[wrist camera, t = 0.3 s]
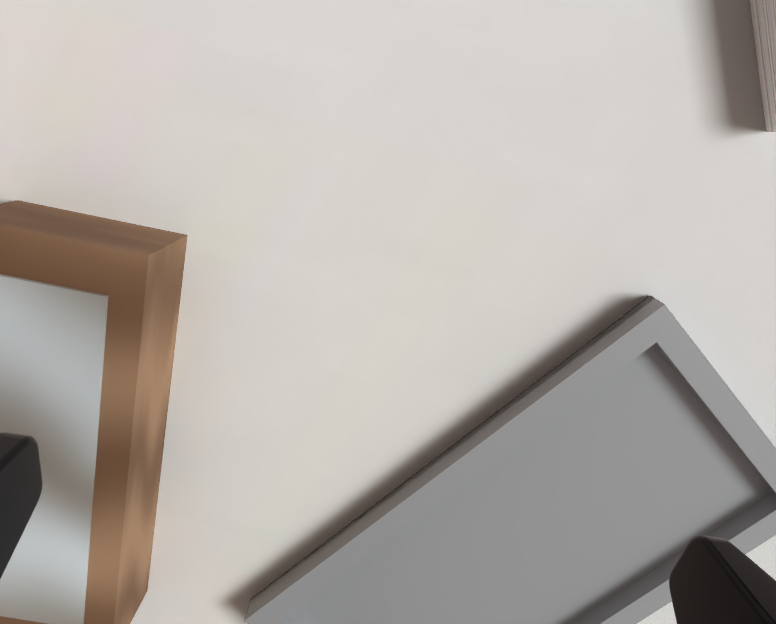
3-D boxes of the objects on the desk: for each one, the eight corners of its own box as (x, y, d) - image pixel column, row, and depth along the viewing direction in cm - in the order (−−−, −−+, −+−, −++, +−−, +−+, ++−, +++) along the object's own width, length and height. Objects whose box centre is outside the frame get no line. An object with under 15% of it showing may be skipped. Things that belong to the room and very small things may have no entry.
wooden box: (150, 584, 27) (108, 664, 23) (12, 561, 26) (-55, 639, 22) (190, 233, 22) (146, 257, 18) (23, 199, 22) (-59, 215, 18)
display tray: (413, 739, 29) (414, 764, 28) (250, 599, 26) (244, 620, 25) (800, 488, 25) (820, 506, 24) (650, 295, 22) (664, 304, 21)
